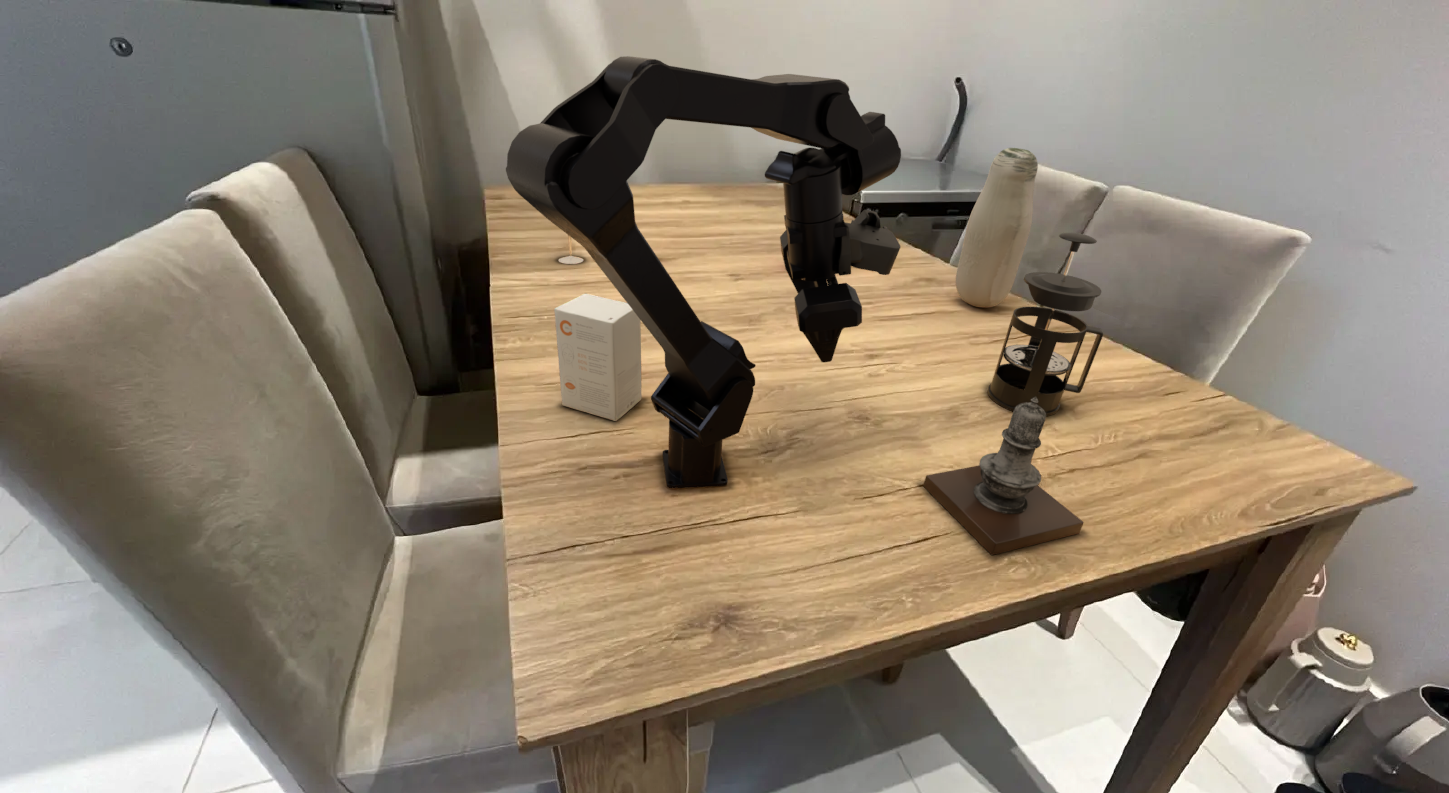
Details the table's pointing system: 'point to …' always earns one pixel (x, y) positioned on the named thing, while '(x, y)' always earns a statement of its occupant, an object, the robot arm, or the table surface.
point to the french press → (1046, 339)
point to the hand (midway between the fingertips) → (820, 338)
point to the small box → (599, 355)
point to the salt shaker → (1013, 462)
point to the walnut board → (997, 528)
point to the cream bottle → (998, 230)
